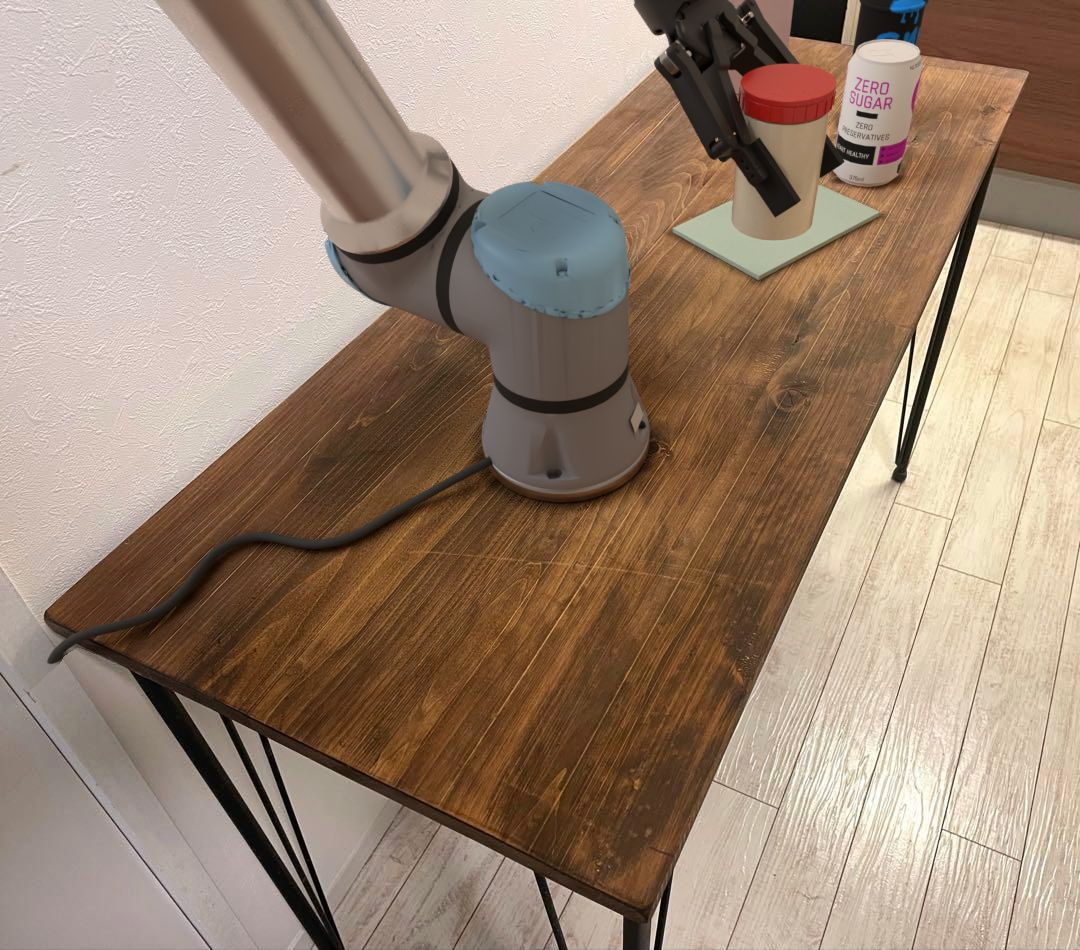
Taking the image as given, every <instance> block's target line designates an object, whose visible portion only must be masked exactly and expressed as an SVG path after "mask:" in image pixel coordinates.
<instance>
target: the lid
mask: <svg viewBox="0 0 1080 950" xmlns="http://www.w3.org/2000/svg"><path fill="white" fill-rule="evenodd" d="M836 89H837V80H836V78H835V76H834V75H832V74H831V73H830V72H829V71H827V70H825V69H822V68H819V67H816V66H813V65H808V64H801V63H800V64H774V65H768V66H763V67H759V68H756V69H754V70H752V71H750V72H748V73H746V74H745V75H744V76H743V77H742V79H741V83H740V87H739V94H738V97H737V98H738V101H739V104H740V107H741V110H742V111H743V112H744V113H746V114H747V115H749V116H751V117H753V118H756V119H758V120H762V121H767V122H773V123H800V122H807V121H811V120H815V119H818V118H820V117H822V116H824V115H826V114H827V113H828V112H829V111H830V112H831V111H832V110H833V107H834V105H835V101H836V97H837V96H836V95H837V90H836Z"/></svg>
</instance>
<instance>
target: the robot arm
mask: <svg viewBox="0 0 1080 950" xmlns="http://www.w3.org/2000/svg"><path fill="white" fill-rule="evenodd" d="M153 1H154V2H155V4H157V6H158V7H159V8H160V9H161V10H162V12H163V13H164V14H165V15H166V17H168V19H169V20H170V21H171V22H172V24H173V25H174V27H176V28H177V30H179V32H180V33H181V34H182V35H183V37H184V38H185V39H186V40H187V41H188V42H189V44H190V45H191V46H192V47H193V49H194V50H195V51H196V52H197V53H198V54H199V55H200V57H201V58H202V59H203V61H204V62H205V63H206V64H207V65H208V66H209V67H210V69H211V70H212V72H214V73H215V75H216V76H217V77H218V78H219V79H220V81H222V83H223V84H224V85H225V87H226V88H227V89H228V90H229V91H230V92H231V94H232V95H233V96H234V97H235V98H236V100H237V101H238V102H239V103H240V104H241V105H242V107H243V108H244V109H245V110H246V111H247V112H248V114H249V115H250V116H251V117H252V119H253V120H254V121H255V122H256V123H257V124H258V126H259V127H260V128H261V129H262V131H263V132H264V133H265V134H266V135H267V136H268V138H269V139H270V140H271V141H272V142H273V143H274V145H275V146H276V147H277V149H279V151H280V152H281V153H282V154H283V156H285V158H286V159H287V160H288V161H289V163H290V164H291V165H292V166H293V167H294V169H296V171H297V172H298V173H299V174H300V176H301V177H302V178H303V179H304V180H305V181H306V183H307V184H308V185H309V186H310V187H311V188H312V190H313V191H314V192H315V194H316V195H317V196H318V197H319V198H320V199H321V201H320V206H319V207H320V209H319V212H320V213H319V216H320V222H321V226H322V228H323V229H322V230H323V232H324V233H325V234H326V235H327V239H326V240H325V242H324V248H325V251H326V252H325V253H326V254H327V257H328V260H329V262H330V264H331V266H332V267H333V269H334V271H335V272H336V274H337V275H338V277H339V278H340V279H341V280H342V281H343V282H344V283H345V284H347V286H349V287H350V288H352V289H353V290H355V291H357V292H358V293H360V294H361V295H362V296H364V297H365V298H366V299H368V300H370V301H372V302H375V303H376V304H379V305H383V306H386V307H390V308H396V309H398V310H401V311H404V312H406V313H408V314H411V315H413V316H415V317H418V318H421V319H422V320H425V321H427V322H430V323H432V324H435V325H437V326H440V327H443V328H445V329H448V330H450V331H453V332H455V333H457V334H460V335H462V336H465V337H466V338H470V339H471V340H475V341H477V342H478V343H479V342H480V343H481V344H483V345H484V346H486V347H487V349H488V352H489V358H490V365H491V370H492V380H493V385H492V388H491V392H490V397H489V400H488V405H487V409H486V414H485V416H484V419H483V422H482V426H481V427H482V430H481V446H482V451H483V459H481V460H479V461H477V462H475V463H474V464H471V465H470V466H468V467H466V468H464V469H462V470H460V471H459V472H456V473H455V474H452V475H451V476H449V477H447V478H445V479H443V480H441V481H440V482H437V483H436V484H435V485H433V486H431V487H429V488H427V489H425V490H424V491H422V492H420V493H418V494H417V495H415V496H413V497H411V498H409V499H407V500H405V501H404V502H402V503H399V504H398V505H396V506H395V507H393V508H391V509H389V510H387V511H386V512H385V513H382V514H381V515H379V516H378V517H376V518H375V519H373V520H371V521H370V522H367V523H366V524H363V526H360V527H358V528H356V529H354V530H352V531H349V532H347V533H344V534H341V535H337V536H334V537H333V536H332V537H329V538H322V539H307V538H300V537H293V536H290V535H286V534H285V535H284V534H280V533H275V532H267V531H254V532H253V531H252V532H248V533H243V534H240V535H237V536H236V535H235V536H233V537H231V538H229V539H227V540H225V541H223V542H221V543H220V544H218V545H216V546H215V547H214V548H213V549H211V550H209V552H208V553H207V554H206V555H205V556H204V557H203V558H202V559H201V561H199V563H197V565H196V566H195V568H194V569H193V571H192V572H191V573H190V575H189V576H188V577H187V579H186V580H185V581H184V582H183V583H182V584H181V585H180V587H179V588H178V589H177V590H176V591H175V592H174V593H173V594H172V595H171V596H170V597H169V598H167V599H166V600H164V601H163V602H162V603H160V604H159V605H157V606H155V607H153V608H151V609H150V610H147V611H145V612H143V613H140V614H137V615H135V616H132V617H128V618H127V617H126V618H123V619H119V620H115V621H112V622H111V621H110V622H106V623H103V624H99V625H95V626H91V627H88V628H85V629H82V630H79V631H77V632H75V633H73V634H71V635H69V636H67V637H66V638H65V639H63V640H62V641H61V642H60V643H59V644H58V645H57V646H55V648H53V650H52V651H51V652H50V654H49V656H48V657H47V660H46V662H47V664H49V665H52V664H55V663H57V662H58V661H59V660H60V659H61V658H62V657H63V655H64V654H65V653H66V652H67V651H68V650H70V648H72V647H74V646H75V645H77V644H79V643H81V642H83V641H86V640H88V639H92V638H94V637H98V636H99V637H100V636H102V635H106V634H107V635H108V634H111V633H115V632H119V631H123V630H128V629H131V628H134V627H138V626H141V625H145V624H146V623H148V622H151V621H154V620H155V619H157V618H159V617H161V616H163V615H164V614H166V613H167V612H169V611H170V610H172V609H173V608H174V607H176V606H177V605H178V604H179V603H180V602H181V601H182V600H183V599H184V598H185V597H186V596H187V595H188V594H189V593H190V591H192V590H193V588H194V587H195V585H196V584H197V583H198V582H199V580H200V579H201V577H202V576H203V575H204V574H205V572H206V571H207V570H208V569H209V567H211V565H212V564H213V563H214V562H215V561H216V560H217V559H218V558H219V557H220V556H222V555H223V554H224V553H226V552H228V551H229V550H231V549H233V548H236V547H238V546H240V545H244V544H246V543H252V542H268V543H275V544H279V545H284V546H288V547H294V548H298V549H304V550H305V549H307V550H323V549H329V548H334V547H338V546H342V545H345V544H348V543H351V542H354V541H356V540H358V539H360V538H363V537H364V536H366V535H368V534H370V533H372V532H374V531H376V530H377V529H379V528H381V527H382V526H384V525H386V524H387V523H388V522H390V521H392V520H394V519H395V518H396V517H398V516H400V515H402V514H404V513H405V512H407V511H410V510H411V509H413V508H415V507H417V506H419V505H420V504H423V503H424V502H426V501H428V500H430V499H432V498H433V497H435V496H437V495H438V494H440V493H442V492H444V491H445V490H447V489H449V488H451V487H452V486H455V485H456V484H458V483H460V482H462V481H464V480H466V479H468V478H470V477H472V476H473V475H475V474H478V473H479V472H481V471H483V470H484V469H486V468H488V470H489V471H490V473H491V474H492V475H493V477H494V478H495V479H496V480H497V481H498V482H499V483H500V484H502V485H503V486H504V487H506V488H507V489H508V490H511V491H513V492H514V493H517V494H518V495H521V496H523V497H527V498H529V499H534V500H537V501H542V502H548V503H549V502H550V503H573V502H582V501H586V500H591V499H594V498H598V497H601V496H603V495H606V494H608V493H610V492H613V491H615V490H616V489H618V488H620V487H622V486H623V485H625V484H626V483H627V482H629V481H630V480H631V479H632V478H633V477H634V476H635V475H636V474H637V473H638V472H639V471H640V470H641V468H642V466H643V465H644V463H645V461H646V459H647V457H648V454H649V452H650V451H649V450H650V436H651V435H650V434H651V433H650V429H651V428H650V421H649V417H648V414H647V411H646V408H645V406H644V404H643V402H642V399H641V397H640V394H639V392H638V390H637V388H636V385H635V383H634V379H633V378H632V375H631V373H630V371H629V370H630V361H629V359H630V358H629V357H630V349H629V348H630V303H629V302H630V285H631V280H632V279H631V278H632V273H631V264H630V260H629V256H628V249H627V248H628V246H627V235H626V231H625V230H624V227H623V223H622V221H621V219H620V217H619V215H618V214H617V213H616V211H615V210H614V208H613V207H611V206H610V205H609V204H608V203H607V202H606V201H605V200H603V199H602V198H601V197H599V196H598V195H597V194H594V193H593V192H591V191H588V190H586V189H584V188H581V187H579V186H576V185H573V184H569V183H565V182H559V181H551V180H545V181H544V183H542V184H536V183H535V182H534V181H532V180H529V181H521V182H516V183H511V184H509V185H506V186H503V187H501V188H498V189H496V190H494V191H492V192H491V193H488V192H486V191H482V190H479V189H476V188H474V187H472V186H471V185H470V184H468V183H467V182H466V181H465V179H464V177H463V175H462V174H461V173H460V170H459V169H458V167H457V166H456V164H455V162H454V161H453V160H452V158H451V156H450V155H449V154H448V151H447V150H446V149H445V148H444V146H443V145H442V144H441V143H440V141H438V139H436V138H434V137H433V136H431V135H428V134H426V133H422V132H419V131H412V130H410V129H409V127H408V125H407V123H406V122H405V120H404V119H403V117H402V116H401V114H400V113H399V111H398V110H397V108H396V107H395V105H394V103H393V102H392V100H391V99H390V97H389V96H388V94H387V92H386V91H385V89H384V87H383V86H382V85H381V83H380V82H379V80H378V79H377V77H376V76H375V75H376V74H374V72H373V71H372V69H371V68H370V65H368V63H367V61H366V60H365V58H364V56H363V55H362V53H361V52H360V51H359V49H358V47H357V46H356V44H355V42H354V41H353V40H352V38H351V36H350V35H349V33H348V32H347V30H346V29H345V27H344V25H343V24H342V22H341V21H340V20H339V18H338V16H337V15H336V13H335V11H334V10H333V8H332V7H331V5H330V4H329V2H328V0H153ZM633 7H634V8H635V10H636V11H637V12H638V14H639V16H640V17H641V19H642V20H643V22H644V24H645V25H646V26H647V28H648V29H649V31H650V32H651V33H652V34H653V35H654V36H656V37H657V36H662V35H665V37H666V39H667V43H668V46H667V48H666V49H664V50H663V51H662V53H660V55H659V56H657V57H656V58H655V59H654V61H653V65H654V68H655V69H656V70H657V71H658V72H659V74H660V75H661V76H662V77H663V78H664V80H665V81H666V82H667V83H668V84H669V85H670V87H671V90H672V91H673V93H674V95H675V97H676V98H677V101H678V103H679V104H680V106H681V107H682V110H683V112H684V113H685V115H686V117H687V119H688V121H689V123H690V124H691V126H692V128H693V130H694V132H695V134H696V135H697V138H698V139H699V142H700V143H701V145H702V146H703V148H704V151H705V152H706V154H707V156H708V158H710V159H711V160H712V161H716V160H718V161H720V162H721V163H726V162H728V161H729V160H730V159H732V160H733V162H734V163H735V165H736V164H737V166H738V167H739V169H740V170H741V172H742V173H743V175H744V176H745V177H746V179H747V181H748V182H749V184H751V185H752V186H753V187H755V189H756V190H757V192H758V193H759V195H760V196H761V198H762V199H763V201H764V202H765V204H766V205H767V207H768V208H769V210H770V211H771V213H772V214H773V216H774V217H775V218H776V217H777V216H779V215H780V214H782V213H783V212H785V211H787V210H788V209H790V208H791V207H793V206H795V205H796V204H798V203H799V202H800V201H801V199H800V197H799V196H798V194H797V193H796V191H795V190H794V188H793V187H792V185H791V184H790V182H789V181H788V179H787V178H786V176H785V175H784V173H783V172H782V170H781V169H780V167H779V166H778V164H777V163H776V161H775V160H774V158H773V157H772V155H771V154H770V152H769V151H768V149H767V148H766V146H765V145H764V143H763V142H762V140H761V139H760V137H759V138H758V139H757V140H755V141H754V142H753V143H751V141H752V139H751V135H750V133H749V130H748V127H747V124H746V121H745V118H744V115H743V113H742V110H741V107H740V104H739V100H738V98H739V97H738V96H737V94H736V93H735V90H734V87H733V84H732V81H731V78H730V76H729V72H728V70H736V71H737V72H738V73H739V74H740V75H742V76H744V75H745V74H746V73H748V72H750V71H752V70H754V69H756V68H759V67H763V66H768V65H774V64H801V63H800V62H799V61H798V59H797V58H796V57H795V55H794V54H793V53H792V52H791V51H790V50H789V48H787V47H786V46H785V44H784V43H783V42H782V40H781V39H780V38H779V37H778V35H777V34H776V33H775V32H774V30H773V29H772V28H771V26H770V25H769V24H768V23H767V21H766V20H765V19H764V17H763V15H762V13H761V11H760V9H759V7H758V5H757V3H756V1H755V0H745V1H743V2H742V3H741V4H740V5H735V6H734V5H733V4H732V3H731V2H730V1H729V0H633ZM742 44H744V45H743V46H742V47H741V45H742ZM750 143H751V144H750ZM844 162H845V161H844V160H843V158H842V157H841V155H840V154H839V152H838V151H837V149H836V148H835V143H833V142H832V140H831V138H830V136H829V135H828V133H826V139H825V146H824V152H823V159H822V165H821V172H820V178H819V180H820V179H822V178H823V177H825V176H827V175H828V174H830V173H831V172H833V170H834V169H836V168H837V167H839V166H840V165H842V164H843V163H844Z"/></svg>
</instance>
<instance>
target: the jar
mask: <svg viewBox="0 0 1080 950" xmlns="http://www.w3.org/2000/svg"><path fill="white" fill-rule="evenodd" d="M830 112H831V110H830V111H829V112H828V113H827V114H826V115H824V116H822V117H820V118H818V119H815V120H811V121H807V122H800V123H773V122H767V121H762V120H758V119H756V118H753V117H751V116H749V115H747V114H746V113H744V112H743V111H742V113H743V115H744V118H745V121H746V124H747V127H748V130H749V133H750V135H751V139H752V141H751V143H753V142H754V141H755V140H757V139H758V138H759V137H760V139H761V140H762V142H763V143H764V145H765V146H766V148H767V149H768V151H769V152H770V154H771V155H772V157H773V158H774V160H775V161H776V163H777V164H778V166H779V167H780V169H781V170H782V172H783V173H784V175H785V176H786V178H787V179H788V181H789V182H790V184H791V185H792V187H793V188H794V190H795V191H796V193H797V194H798V196H799V197H800V199H801V201H800V202H799V203H798V204H796V205H795V206H793V207H791V208H790V209H788V210H787V211H785V212H783V213H782V214H780V215H779V216H777V217H776V218H775V217H774V216H773V214H772V213H771V211H770V210H769V208H768V207H767V205H766V204H765V202H764V201H763V199H762V198H761V196H760V195H759V193H758V192H757V190H756V189H755V187H753V186H752V185H751V184H749V182H748V181H747V179H746V177H745V176H744V175H743V173H742V172H741V170H740V169H739V167H738V166H737V164H736V163H735V170H734V180H733V182H734V183H733V193H732V200H733V204H732V215H731V221H732V224H733V225H734V227H735V228H736V229H737V230H738V231H740V232H741V233H743V234H745V235H747V236H750V237H753V238H757V239H762V240H785V239H791V238H794V237H797V236H800V235H802V234H804V233H805V232H806V231H808V230H809V229H810V227H811V226H812V223H813V217H814V211H815V204H816V198H817V191H818V185H820V179H821V178H820V172H821V165H822V159H823V152H824V146H825V139H826V134H828V133H827V132H828V126H829V118H830ZM751 143H750V144H751ZM819 178H820V179H819Z"/></svg>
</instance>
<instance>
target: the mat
mask: <svg viewBox="0 0 1080 950" xmlns="http://www.w3.org/2000/svg"><path fill="white" fill-rule="evenodd" d="M732 204H733V199H730V200H728V201H727V202H725V203H721V204H720V205H718V206H716V207H714V208H712V209H710V210H707V211H706V212H703V213H701V214H699V215H697V216H695V217H693V218H691V219H688V220H687V221H684V222H682V223H680V224H679V225H676V226H674V227H672V233H673V234H675V235H677V236H678V237H680V238H681V239H684V240H686V241H687V242H689V243H691V244H692V245H694V246H696V247H698V248H699V249H702V250H703V251H705V252H706V253H709V254H710V255H712V256H714V257H715V258H718V259H720V260H721V261H723V262H724V263H727V264H729V265H730V266H732V267H734V268H735V269H738V270H739V271H741V272H743V273H745V274H746V275H748V276H750V277H752V278H754V279H755V280H757V281H760V280H762V279H764V278H766V277H768V276H770V275H771V274H774V273H776V272H777V271H779V270H782V269H783V268H785V267H787V266H789V265H791V264H793V263H794V262H796V261H798V260H800V259H802V258H803V257H806V256H807V255H810V254H811V253H814V252H816V251H817V250H818V249H821V248H822V247H824V246H826V245H829V244H830V243H832V242H835V241H836V240H837V239H839V238H841V237H843V236H845V235H846V234H849V233H851V232H853V231H854V230H856V229H858V228H860V227H862V226H864V225H866V224H867V223H869V222H871V221H873V220H875V219H877V218H879V217H880V215H881V211H879V210H877V209H875V208H872V207H870V206H869V205H866V204H864V203H861V202H859V201H857V200H855V199H853V198H850V197H848V196H846V195H844V194H842V193H839V192H837V191H834V190H833V189H830V188H828V187H826V186H823V185H821V184H819V185H818V191H817V198H816V204H815V211H814V217H813V223H812V226H811V227H810V229H809V230H808V231H806V232H805V233H804V234H802V235H800V236H797V237H794V238H791V239H785V240H762V239H757V238H753V237H750V236H747V235H745V234H743V233H741V232H740V231H738V230H737V229H736V228H735V227H734V225H733V224H732V221H731V215H732Z"/></svg>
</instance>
